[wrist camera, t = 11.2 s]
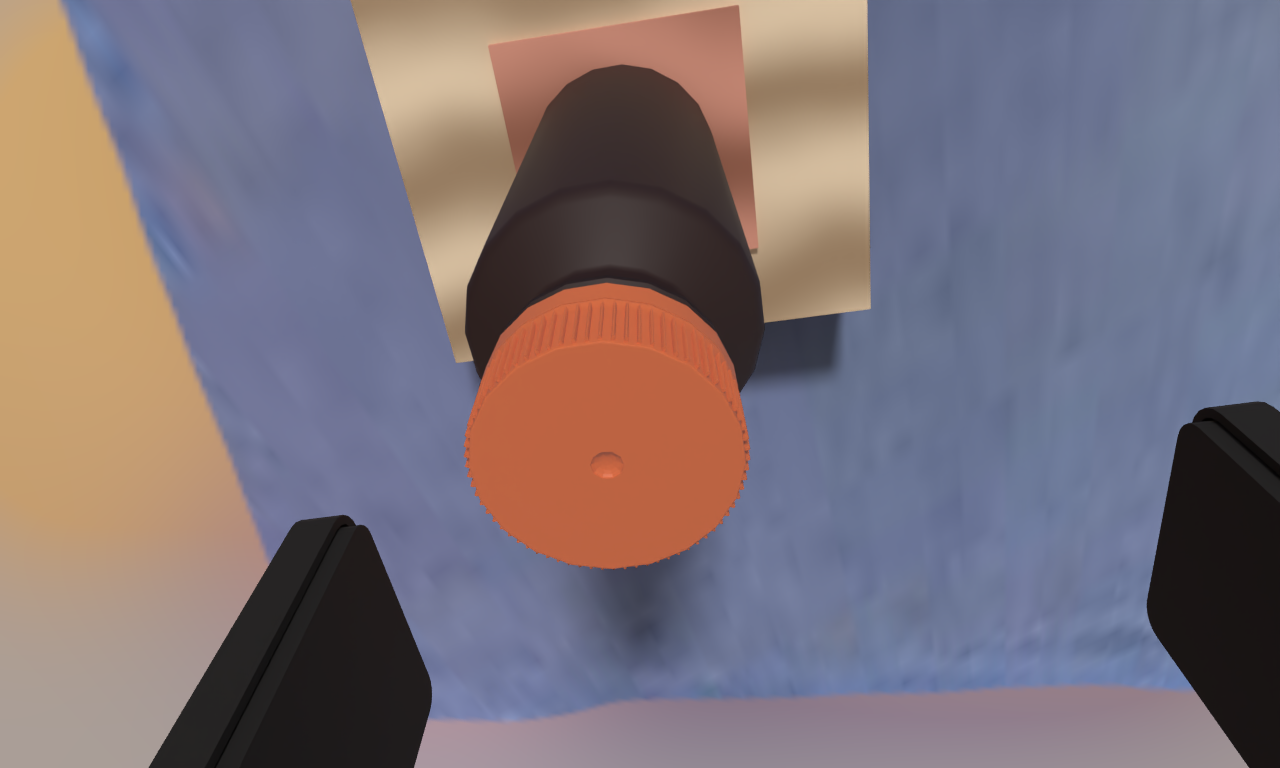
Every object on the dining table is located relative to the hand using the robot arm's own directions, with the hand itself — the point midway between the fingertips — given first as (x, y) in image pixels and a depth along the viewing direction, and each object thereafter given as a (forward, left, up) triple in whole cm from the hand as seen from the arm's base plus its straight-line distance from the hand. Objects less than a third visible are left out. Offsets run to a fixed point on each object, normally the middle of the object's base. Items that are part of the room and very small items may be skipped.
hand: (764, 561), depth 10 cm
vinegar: (-1, +2, -24) cm, 24 cm away
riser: (-1, +2, -29) cm, 29 cm away
